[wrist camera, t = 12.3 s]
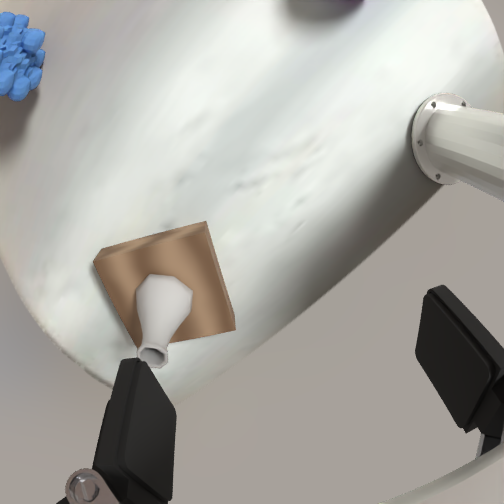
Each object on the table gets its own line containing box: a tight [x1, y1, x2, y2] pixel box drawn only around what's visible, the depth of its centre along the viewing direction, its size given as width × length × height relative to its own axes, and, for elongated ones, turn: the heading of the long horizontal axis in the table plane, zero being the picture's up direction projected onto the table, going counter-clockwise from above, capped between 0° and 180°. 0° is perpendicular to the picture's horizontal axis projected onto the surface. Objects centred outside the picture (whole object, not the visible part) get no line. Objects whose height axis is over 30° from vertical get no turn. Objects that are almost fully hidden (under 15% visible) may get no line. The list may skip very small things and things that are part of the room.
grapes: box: [0, 12, 45, 101], centre depth 20 cm, size 12×7×12 cm, turn 15°
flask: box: [136, 274, 193, 368], centre depth 33 cm, size 7×7×10 cm
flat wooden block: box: [93, 221, 236, 349], centre depth 39 cm, size 14×14×4 cm
